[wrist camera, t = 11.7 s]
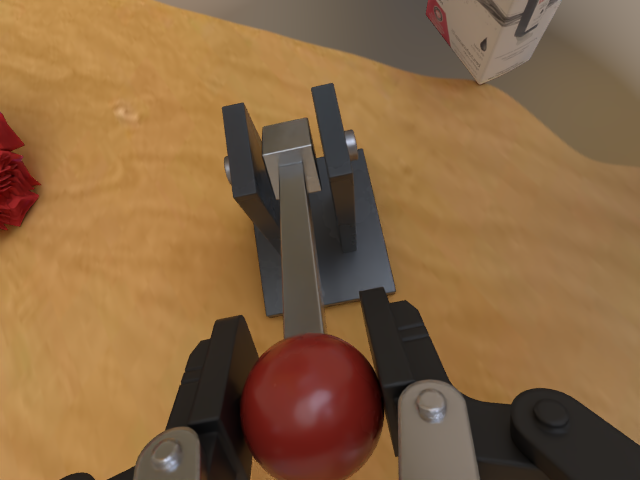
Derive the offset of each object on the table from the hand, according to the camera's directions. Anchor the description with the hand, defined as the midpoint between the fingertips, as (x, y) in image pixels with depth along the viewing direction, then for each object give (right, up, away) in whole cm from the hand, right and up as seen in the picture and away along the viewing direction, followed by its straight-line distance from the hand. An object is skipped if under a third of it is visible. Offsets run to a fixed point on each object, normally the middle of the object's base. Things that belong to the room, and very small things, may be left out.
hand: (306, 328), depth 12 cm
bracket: (0, +3, +18) cm, 19 cm away
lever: (0, +1, +3) cm, 4 cm away
